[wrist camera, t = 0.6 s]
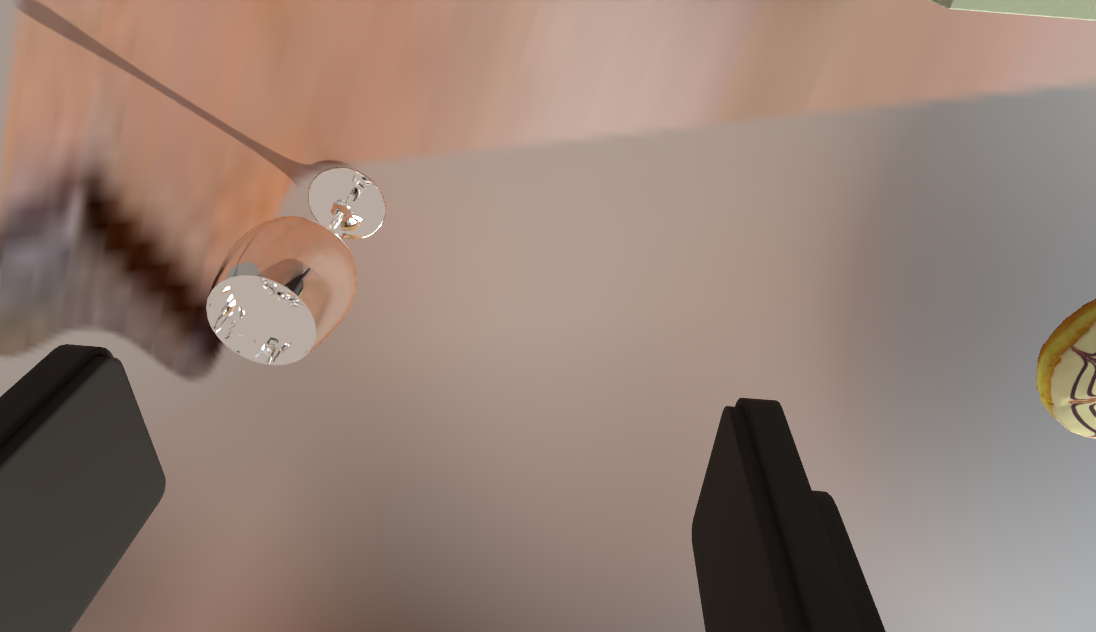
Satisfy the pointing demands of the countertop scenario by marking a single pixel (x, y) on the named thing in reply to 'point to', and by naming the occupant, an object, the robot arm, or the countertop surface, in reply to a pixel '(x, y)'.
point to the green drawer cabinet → (1028, 7)
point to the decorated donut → (1071, 372)
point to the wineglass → (295, 272)
